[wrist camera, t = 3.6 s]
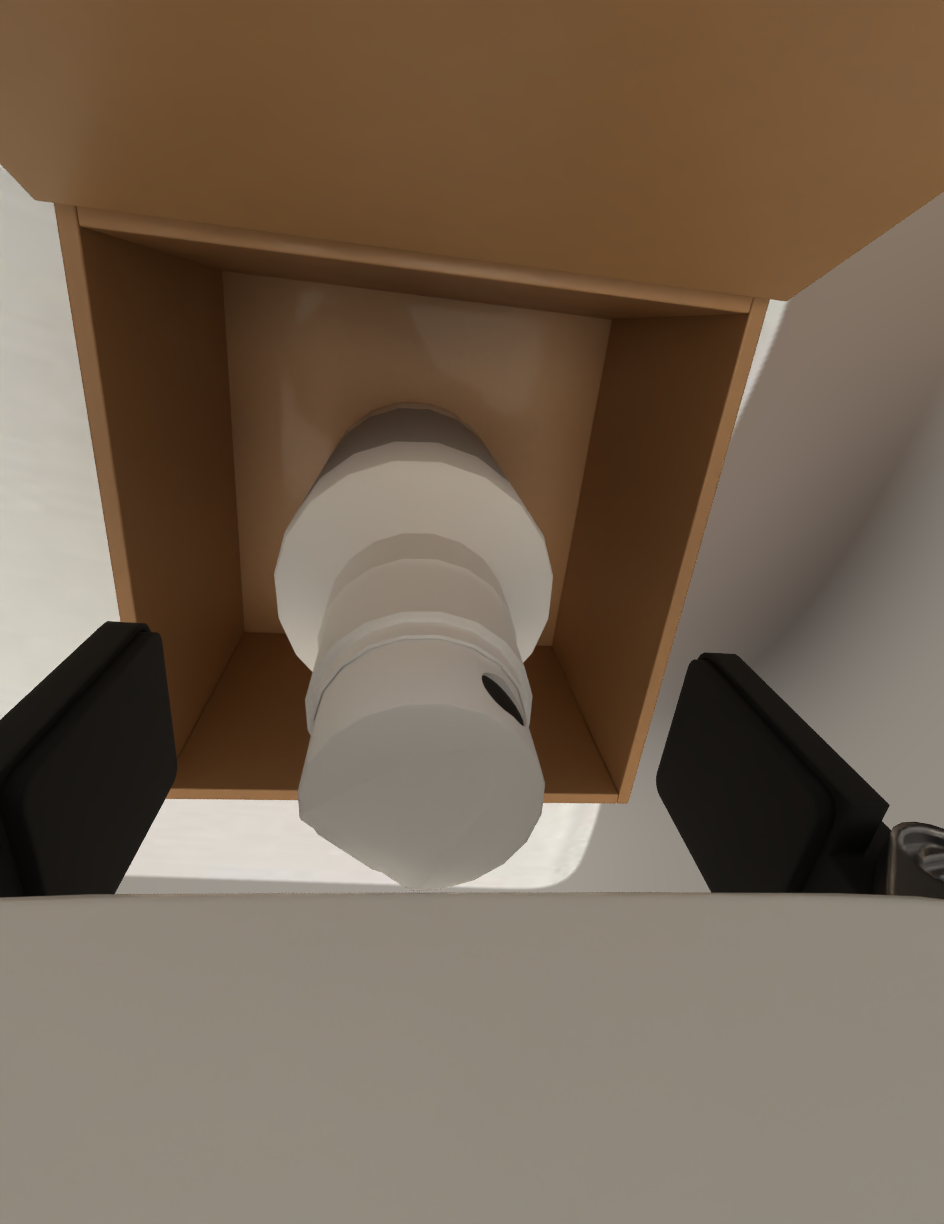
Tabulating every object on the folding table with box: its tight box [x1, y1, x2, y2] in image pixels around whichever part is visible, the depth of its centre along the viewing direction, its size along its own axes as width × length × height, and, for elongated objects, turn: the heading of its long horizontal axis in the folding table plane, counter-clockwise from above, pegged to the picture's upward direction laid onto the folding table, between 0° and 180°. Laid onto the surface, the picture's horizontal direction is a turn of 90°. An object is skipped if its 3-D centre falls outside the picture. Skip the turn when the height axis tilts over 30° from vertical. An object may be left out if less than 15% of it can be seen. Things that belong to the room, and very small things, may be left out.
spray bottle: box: [274, 402, 553, 891], centre depth 16 cm, size 7×7×18 cm
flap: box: [0, 0, 944, 301], centre depth 8 cm, size 7×15×1 cm
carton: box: [54, 203, 770, 804], centre depth 20 cm, size 15×15×10 cm
